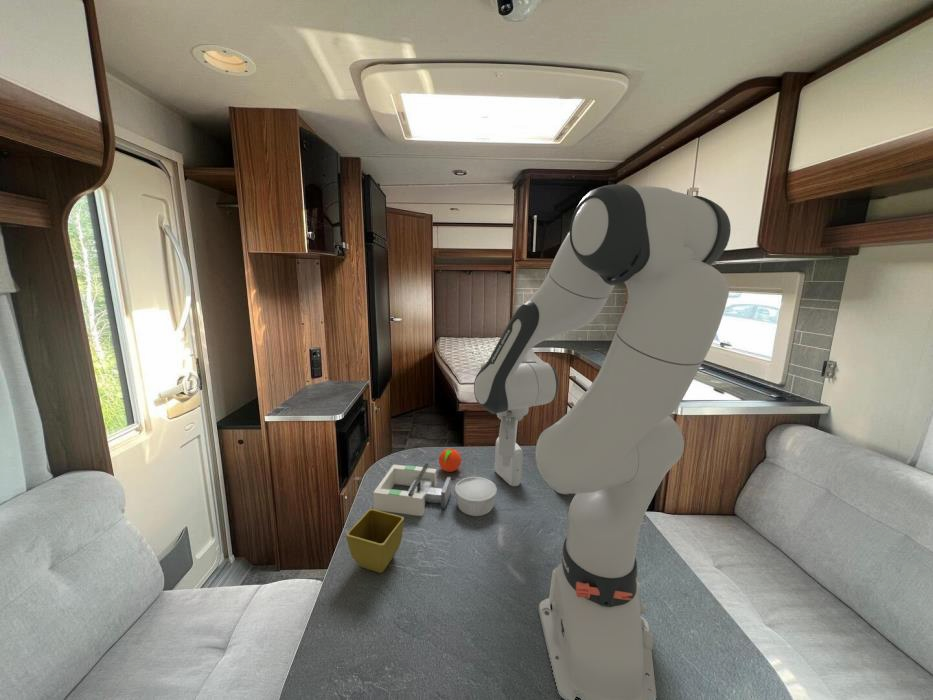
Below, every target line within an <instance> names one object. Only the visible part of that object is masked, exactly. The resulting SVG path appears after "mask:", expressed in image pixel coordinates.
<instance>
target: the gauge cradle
mask: <svg viewBox="0 0 933 700" xmlns="http://www.w3.org/2000/svg"><path fill="white" fill-rule="evenodd" d="M423 467H424V466H416V465H415V466H414V465H408V464H407V465H402V464H392V465H391V467H390V468H389V470H387V473H386V474H385V476H384V477H383V478H382V480H381V481H380V483H379V484H378V485H377V487H376V488H375V490H373V493H372V494H373V495H372V496H373V509H375V510H378V511H382V512H386V513H394V514H395V513H396V514H403V515H411V516H418V517H423V515H424V513H425V511H426V509H425V506H426V504H425V499H424V494H421V493H415V492H413V494H412V496H408V494H409V492H410V491H408V490H402V489H401V490H400V489H393V487H394V486H395V485H400V486H401V485H402V486H409V487H411V485H412V483H413V481H414V480H415V479H417V478H418V476H419V474H420V472H421V470H422V469H423ZM421 480H430V481H432V488H437V483H438V481H437V480H438V479H437V469H436V468H428V467H427V468H426V470H425V472H424V474H423V476H422V478H421Z"/></svg>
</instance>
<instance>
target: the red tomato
mask: <svg viewBox="0 0 933 700" xmlns="http://www.w3.org/2000/svg"><path fill="white" fill-rule="evenodd" d="M438 463H439V466H440V468H441V469H442V470H443V471H445V472H449V473H452V472H454V471H456V470H458V469H459V467H460V465H461V463H462V457H461V454H460V452H459V451H457V450H456V449H454V448H449V447H448V448H446V449H444V450H443V451H442V452H441V453H440V454H439V457H438Z"/></svg>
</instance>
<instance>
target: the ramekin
mask: <svg viewBox="0 0 933 700" xmlns="http://www.w3.org/2000/svg"><path fill="white" fill-rule="evenodd" d="M454 494H455V498H456V504H457V507H458V509H459V510H460V511H461V512H462V513H464V514H465V515H467V516H470V517H471V516H472V517H481V516H484V515H487V514H488V513H490V512H491V511H492V510H493V508H494V505H495V500H496V496H497V494H498V489H497V485H496V484H495V483H494V482H493V481H492V480H490V479H487V478H485V477H480V476H469V477H465V478H463V479H460V480H459V481H458V482H457V483H456V484H455V486H454Z"/></svg>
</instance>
